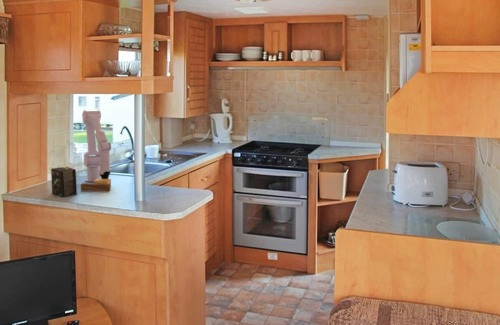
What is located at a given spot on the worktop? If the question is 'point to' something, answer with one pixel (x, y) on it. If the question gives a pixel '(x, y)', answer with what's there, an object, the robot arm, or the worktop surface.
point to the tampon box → (63, 181)
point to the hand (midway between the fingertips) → (105, 184)
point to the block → (103, 181)
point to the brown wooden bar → (95, 187)
